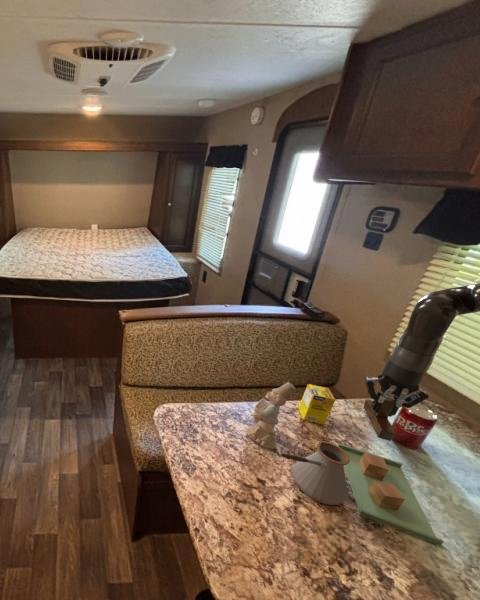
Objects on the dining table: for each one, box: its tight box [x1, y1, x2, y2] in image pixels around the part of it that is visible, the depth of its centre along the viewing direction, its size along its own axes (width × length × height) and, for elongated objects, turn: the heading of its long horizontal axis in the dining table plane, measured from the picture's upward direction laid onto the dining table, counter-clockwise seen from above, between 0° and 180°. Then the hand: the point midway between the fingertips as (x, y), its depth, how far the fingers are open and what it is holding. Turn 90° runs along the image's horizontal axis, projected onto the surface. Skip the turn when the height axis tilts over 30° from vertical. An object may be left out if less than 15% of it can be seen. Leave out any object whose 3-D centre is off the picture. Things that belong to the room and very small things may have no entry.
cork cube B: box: [368, 481, 405, 510], centre depth 76 cm, size 4×4×4 cm
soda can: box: [391, 404, 438, 451], centre depth 93 cm, size 7×7×12 cm
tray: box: [337, 443, 444, 546], centre depth 80 cm, size 14×22×2 cm, turn 154°
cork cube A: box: [359, 451, 389, 480], centre depth 83 cm, size 4×4×4 cm
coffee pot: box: [274, 440, 350, 506], centre depth 76 cm, size 21×12×15 cm, turn 100°
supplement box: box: [298, 383, 336, 426], centre depth 101 cm, size 6×6×11 cm
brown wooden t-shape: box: [363, 396, 396, 442], centre depth 91 cm, size 3×14×9 cm, turn 154°
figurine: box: [245, 381, 297, 450], centre depth 91 cm, size 9×8×20 cm
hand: (381, 412), depth 91 cm, fingers closed on brown wooden t-shape, 2 cm apart
